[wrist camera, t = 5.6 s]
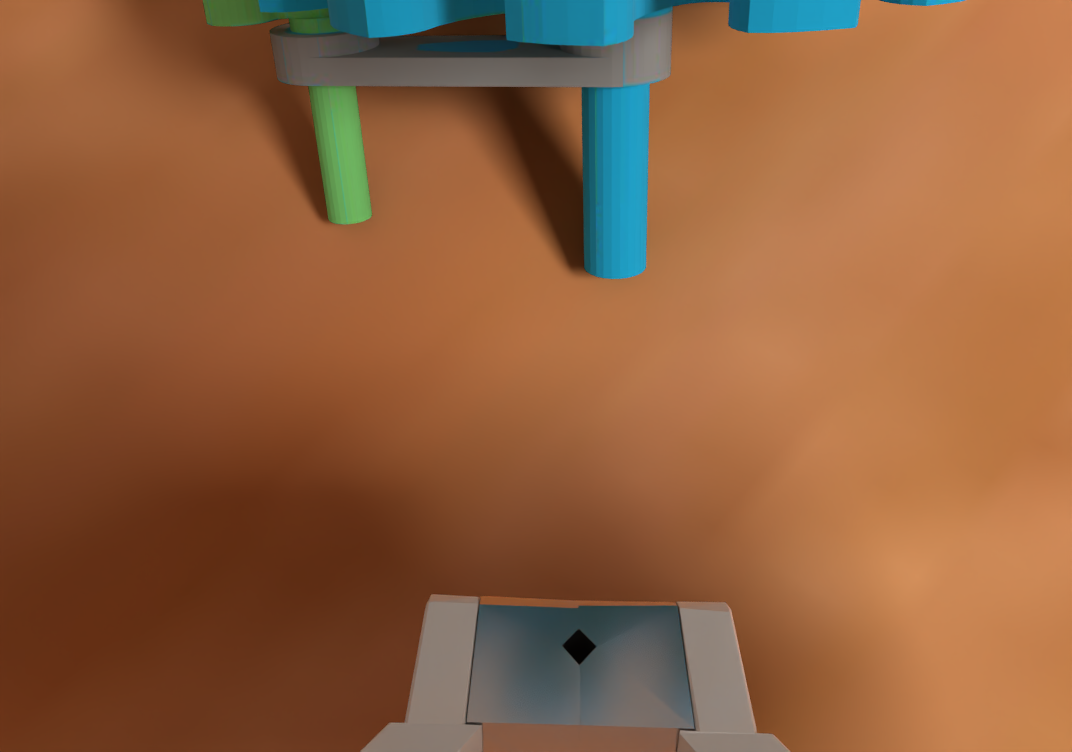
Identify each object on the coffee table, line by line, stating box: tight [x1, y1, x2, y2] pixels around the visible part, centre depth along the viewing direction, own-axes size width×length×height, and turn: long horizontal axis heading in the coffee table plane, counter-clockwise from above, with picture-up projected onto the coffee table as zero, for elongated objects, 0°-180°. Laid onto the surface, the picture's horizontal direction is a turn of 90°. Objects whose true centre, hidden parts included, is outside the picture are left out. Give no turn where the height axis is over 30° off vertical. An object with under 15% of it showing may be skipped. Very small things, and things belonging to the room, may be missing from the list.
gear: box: [203, 0, 964, 279], centre depth 15 cm, size 11×6×10 cm
